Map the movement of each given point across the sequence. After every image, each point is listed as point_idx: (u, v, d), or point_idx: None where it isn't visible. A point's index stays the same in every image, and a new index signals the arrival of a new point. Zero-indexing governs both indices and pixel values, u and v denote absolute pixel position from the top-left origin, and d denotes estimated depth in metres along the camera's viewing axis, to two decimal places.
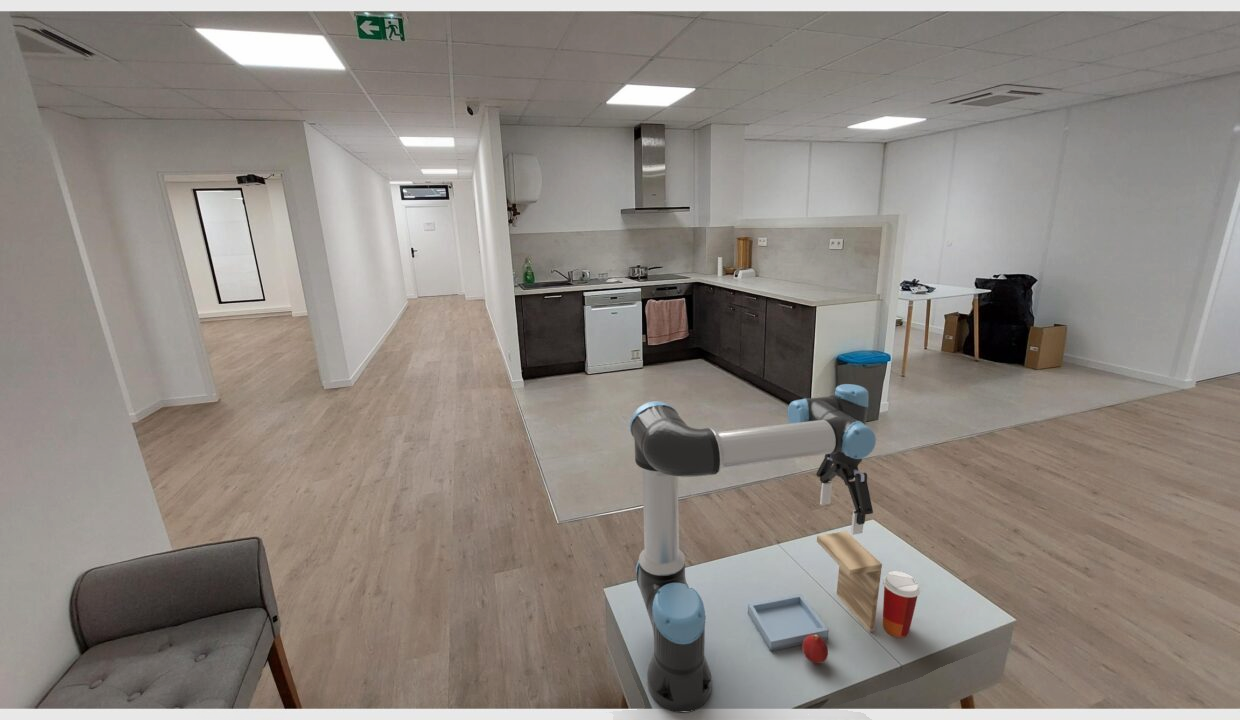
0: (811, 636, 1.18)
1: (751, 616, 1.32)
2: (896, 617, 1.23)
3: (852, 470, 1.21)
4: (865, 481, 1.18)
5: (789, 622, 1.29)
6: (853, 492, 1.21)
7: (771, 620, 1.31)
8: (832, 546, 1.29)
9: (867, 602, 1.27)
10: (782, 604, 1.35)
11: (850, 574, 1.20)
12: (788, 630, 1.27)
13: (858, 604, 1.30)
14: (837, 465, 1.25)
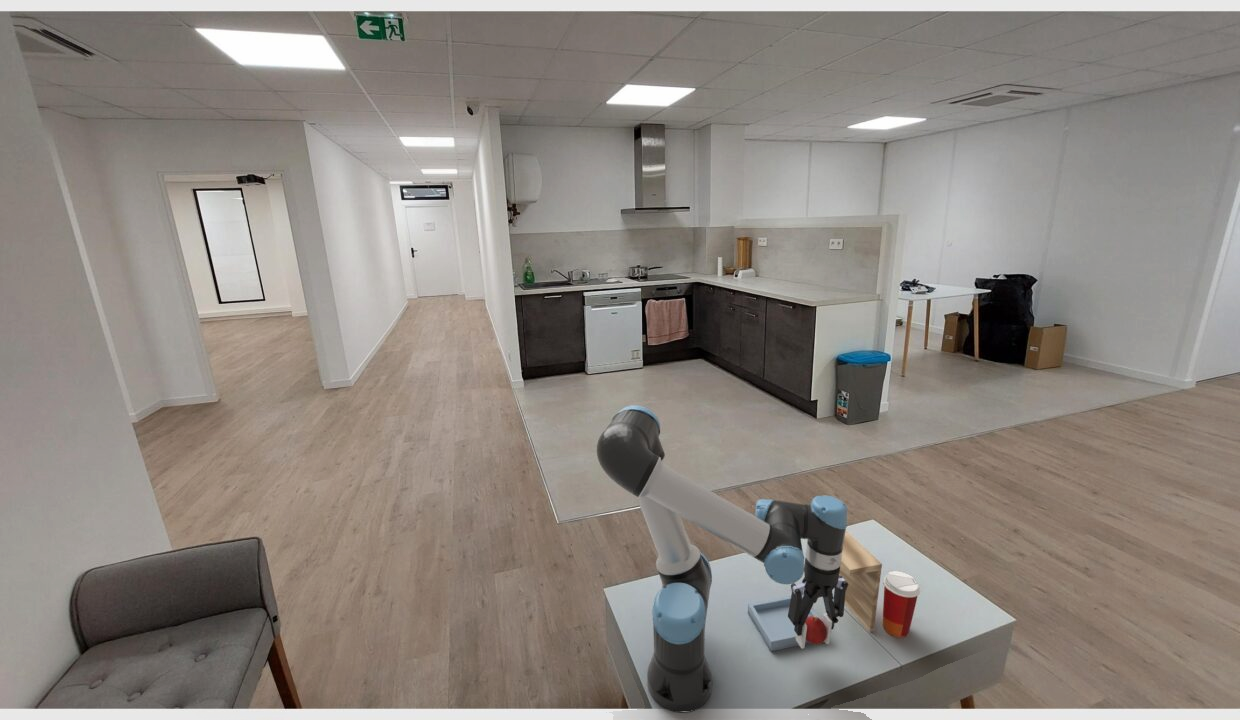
0: (810, 617, 1.17)
1: (751, 616, 1.32)
2: (896, 617, 1.23)
3: (802, 581, 1.13)
4: (796, 597, 1.12)
5: (789, 622, 1.29)
6: (801, 602, 1.15)
7: (771, 620, 1.31)
8: None
9: (867, 602, 1.27)
10: (782, 604, 1.35)
11: (850, 574, 1.20)
12: (788, 630, 1.27)
13: (858, 604, 1.30)
14: None
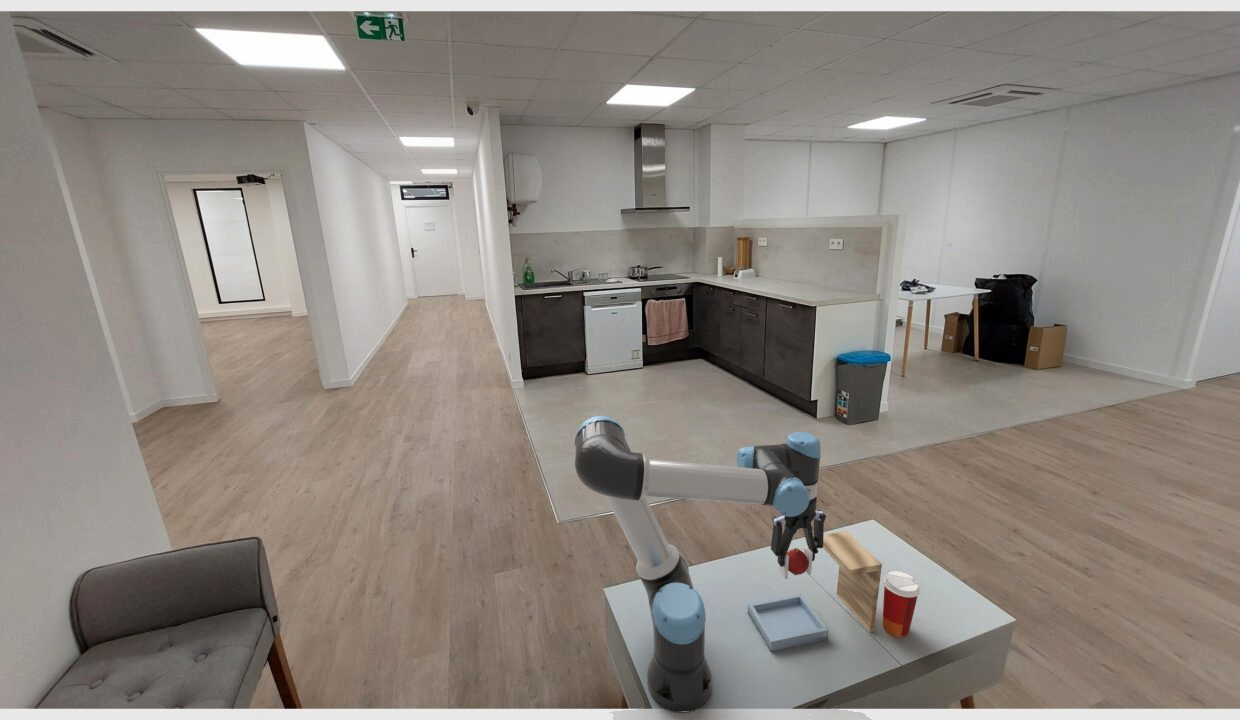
0: (792, 550, 1.25)
1: (751, 616, 1.32)
2: (896, 617, 1.23)
3: (782, 514, 1.21)
4: (777, 528, 1.20)
5: (789, 622, 1.29)
6: (783, 534, 1.23)
7: (771, 620, 1.31)
8: (832, 546, 1.29)
9: (867, 602, 1.27)
10: (782, 604, 1.35)
11: (850, 574, 1.20)
12: (788, 630, 1.27)
13: (858, 604, 1.30)
14: None
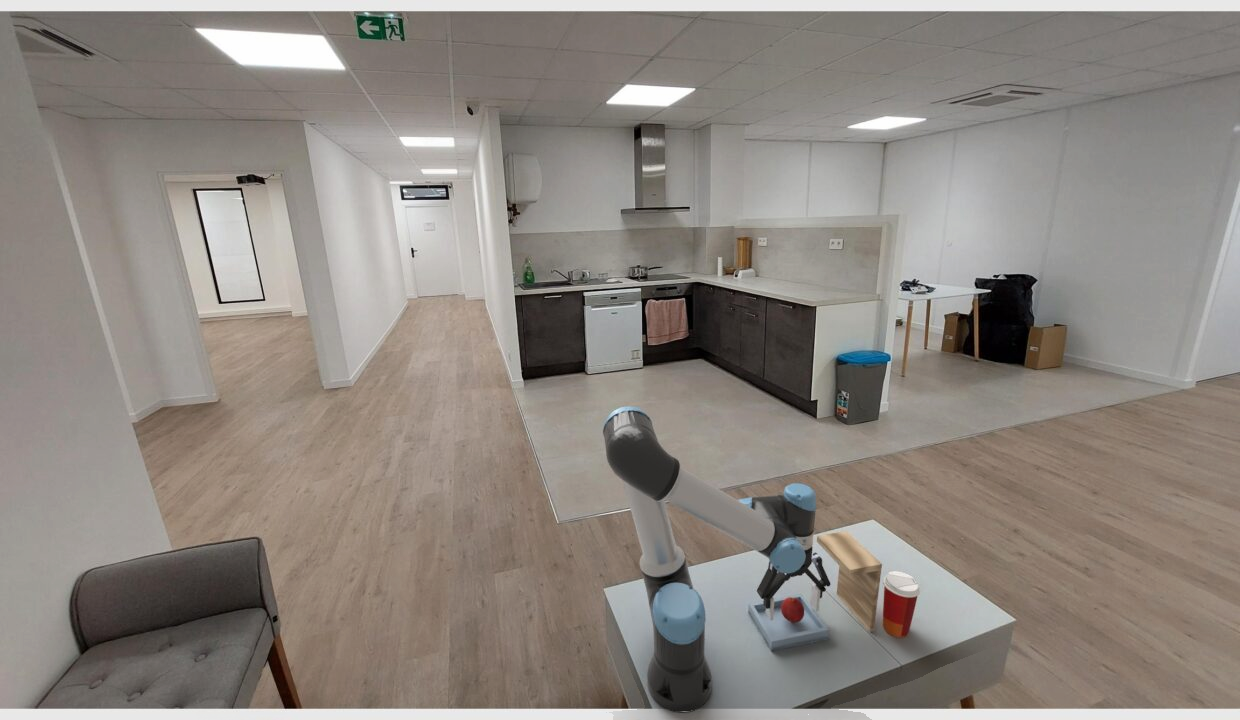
0: (788, 598, 1.29)
1: (752, 616, 1.32)
2: (896, 617, 1.23)
3: None
4: (772, 572, 1.23)
5: (789, 622, 1.29)
6: (774, 578, 1.26)
7: None
8: (832, 546, 1.29)
9: (867, 602, 1.27)
10: None
11: (850, 574, 1.20)
12: (788, 630, 1.27)
13: (858, 604, 1.30)
14: None
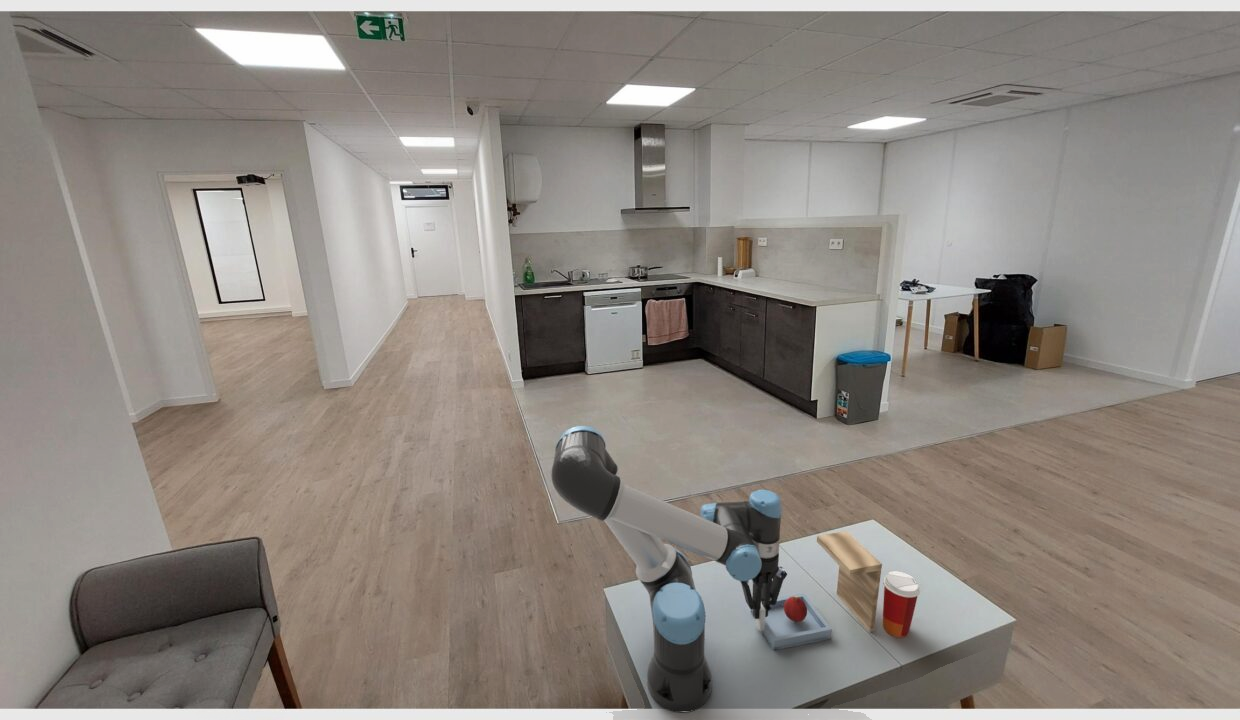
0: (791, 597, 1.29)
1: None
2: (896, 617, 1.23)
3: None
4: (743, 585, 1.22)
5: (792, 622, 1.30)
6: (753, 588, 1.26)
7: (774, 619, 1.31)
8: (832, 546, 1.29)
9: (867, 602, 1.27)
10: None
11: (850, 574, 1.20)
12: (791, 629, 1.27)
13: (858, 604, 1.30)
14: None
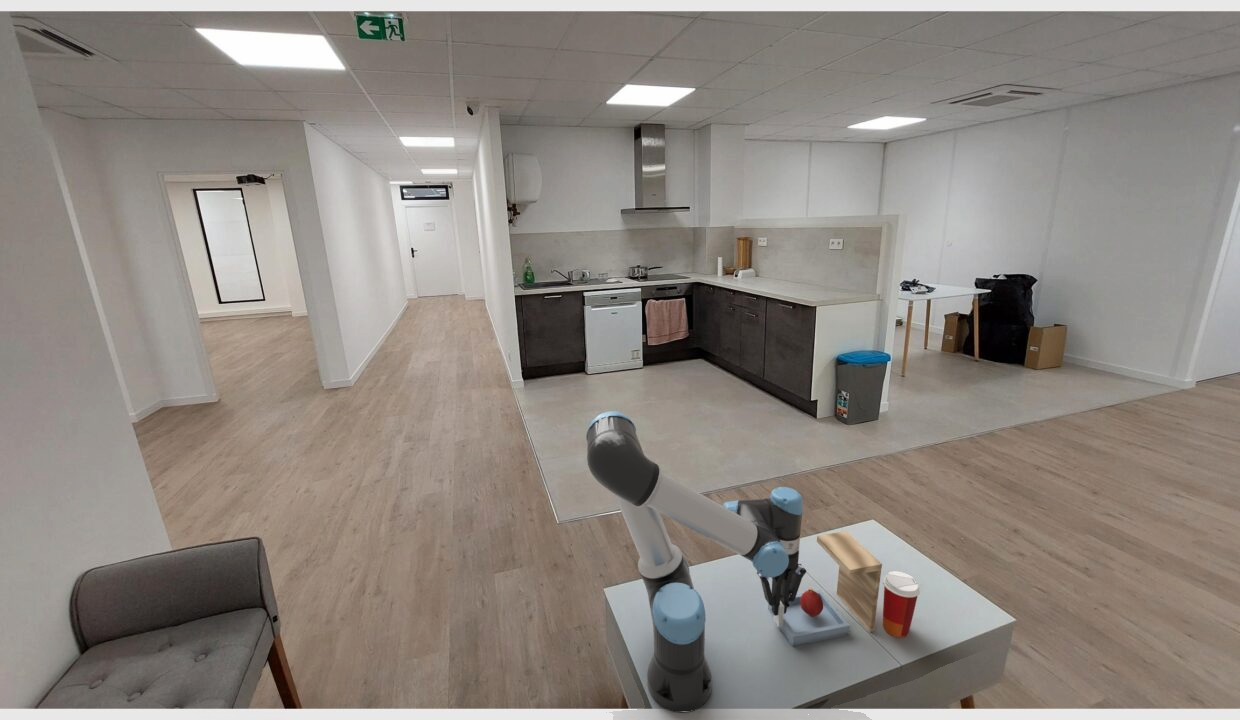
0: (807, 591, 1.31)
1: (772, 612, 1.33)
2: (896, 617, 1.23)
3: None
4: (763, 582, 1.23)
5: (809, 618, 1.31)
6: (772, 585, 1.27)
7: (792, 615, 1.32)
8: (832, 546, 1.29)
9: (867, 602, 1.27)
10: None
11: (850, 574, 1.20)
12: (809, 625, 1.28)
13: (858, 604, 1.30)
14: None
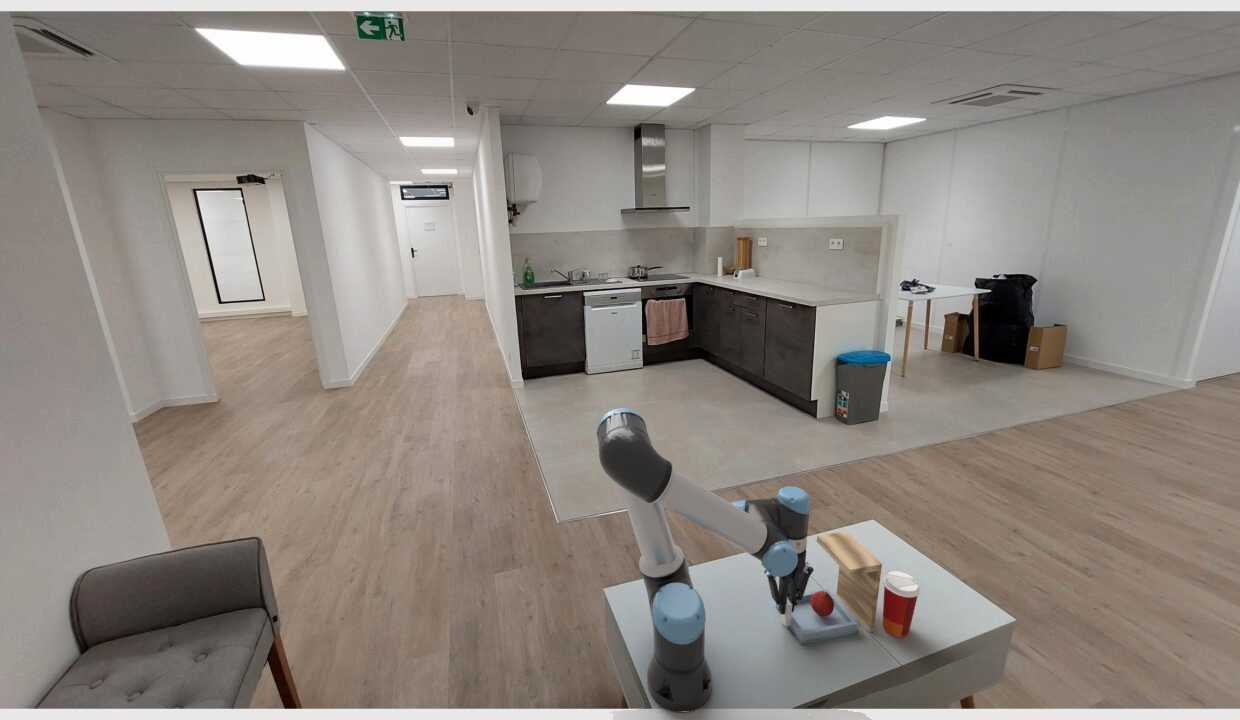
0: (820, 592, 1.30)
1: None
2: (896, 617, 1.23)
3: None
4: (770, 581, 1.24)
5: (817, 616, 1.31)
6: (779, 584, 1.27)
7: (800, 614, 1.32)
8: (832, 546, 1.29)
9: (867, 602, 1.27)
10: (810, 598, 1.37)
11: (850, 574, 1.20)
12: (817, 624, 1.29)
13: (858, 604, 1.30)
14: None
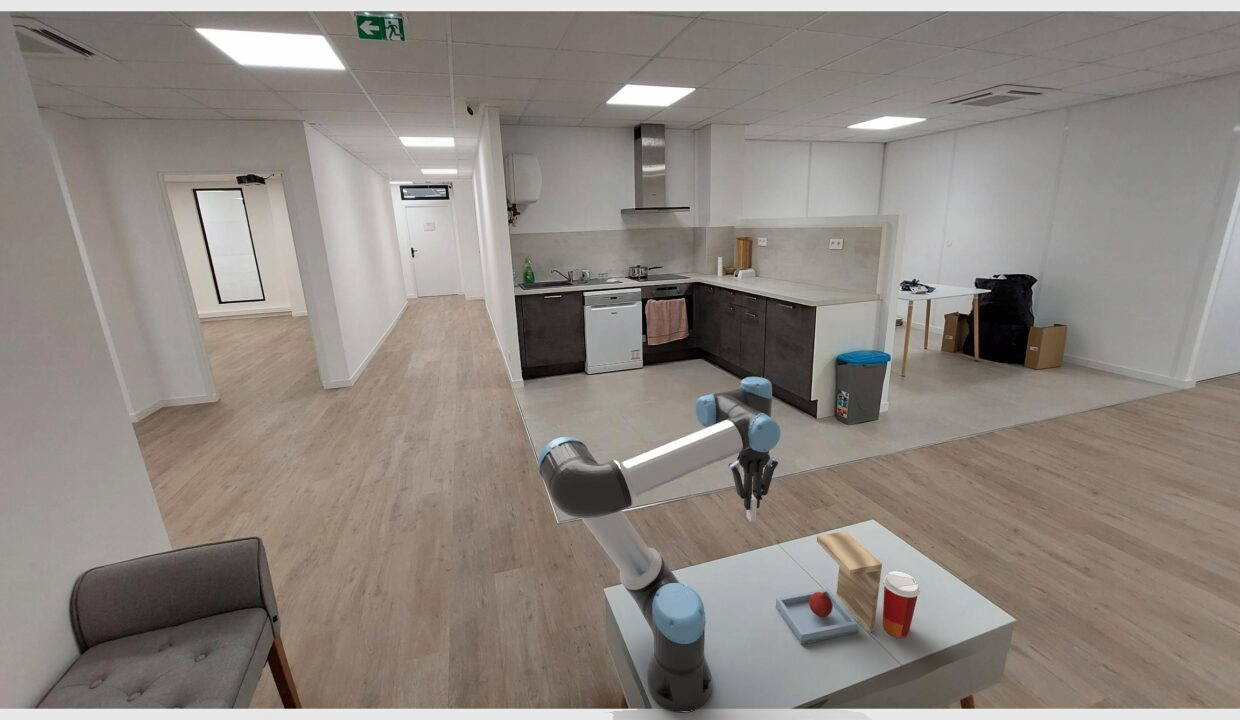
0: (817, 592, 1.30)
1: (780, 610, 1.34)
2: (896, 617, 1.23)
3: (737, 459, 1.24)
4: (734, 473, 1.23)
5: (817, 616, 1.31)
6: (744, 479, 1.27)
7: (800, 614, 1.32)
8: (832, 546, 1.29)
9: (867, 602, 1.27)
10: None
11: (850, 574, 1.20)
12: (817, 624, 1.29)
13: (858, 604, 1.30)
14: None
